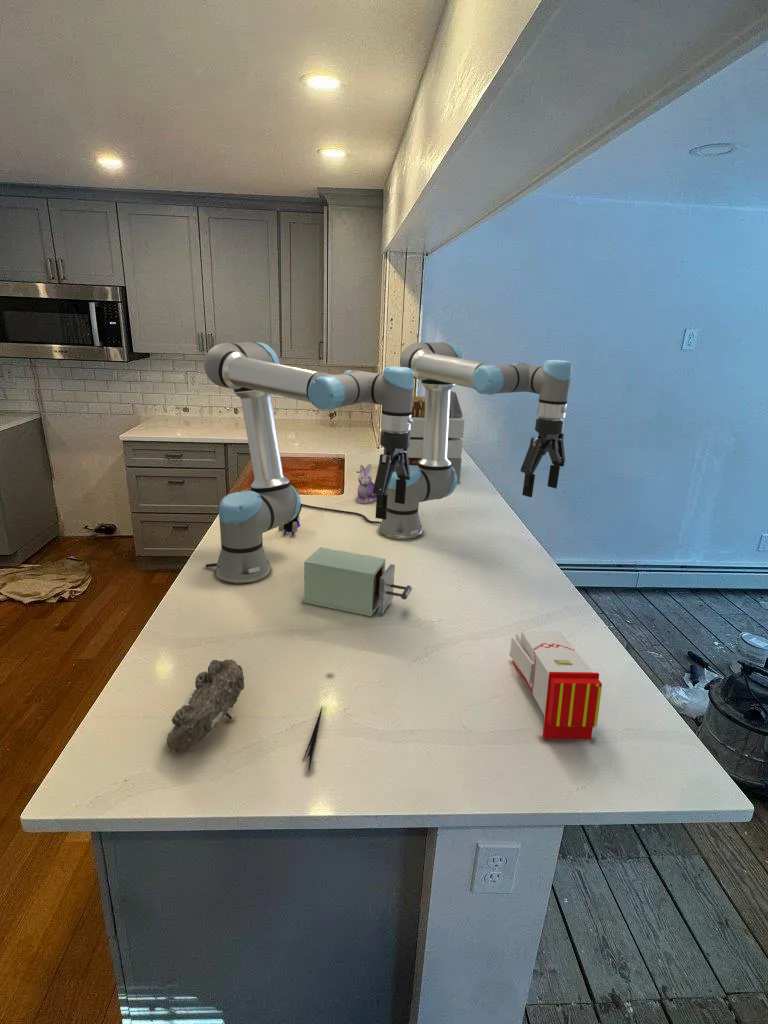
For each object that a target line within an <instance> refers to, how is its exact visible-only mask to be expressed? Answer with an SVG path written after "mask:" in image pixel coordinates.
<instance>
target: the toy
mask: <svg viewBox="0 0 768 1024" xmlns="http://www.w3.org/2000/svg"><path fill="white" fill-rule="evenodd" d="M515 634H516V635H515V637H514V636H512V637H511V639H510V640H511V641H510V649H509V656H510V658H511V661H512V663H513V665H514V666H515V668H516V670H517V671H518V673H519V675H520V676H521V678H522V679H523V681H524V682H525V684H526V686H527V687H528V689H529V690H530V693H532V695H533V697H534V699H535V701H536V703H537V705H538V707H539V708H540V710H541V712H542V714H543V715H544V718H543V727H542V739H543V740H584V741H585V740H588V741H589V740H592V738H593V729H594V728H597V727H598V720H599V713H600V706H601V696H602V689H603V683H602V682H601V680H600V673H599V672H593V671H592V669H591V668H590V667H589V666H588V665H587V663H586V662H585V661H584V659H583V658H582V657H581V656H580V655H579V653H578V652H577V651H576V650H575V648H574V647H573V645H572V644H571V643H570V642H569V641H568V640H567V639H566V637H565V636H564V635H563V634H562V632H561V631H526V630H525V631H524V630H523V631H522V630H521V631H520V632H516V633H515Z"/></svg>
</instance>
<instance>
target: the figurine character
mask: <svg viewBox="0 0 768 1024" xmlns="http://www.w3.org/2000/svg"><path fill="white" fill-rule="evenodd" d="M302 508H303V506H302V505H300V510H299V513H298V515H297V516H296V517H295V518H294V519H293V520H291V521H289V522H288V523H287V524H284V525H281V526H278V532H280V533H281V532H283V533H282V534H283V536H284V537H285V536H286V535H287V533H291V537H293V536H295V533H297V532H298V528H300V527H301V523H300V521H301V518H300V517H301V516H300V514H301V511H302Z"/></svg>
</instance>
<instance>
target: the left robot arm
mask: <svg viewBox="0 0 768 1024" xmlns="http://www.w3.org/2000/svg"><path fill="white" fill-rule="evenodd" d="M203 368H204V372H205V375H206V376H207V378H208V379H209V381H211V382H212V383H213V384H214V385H216V386H218V387H221V388H226V389H231V390H233V393H234V394H235V396H237V397H238V398H239V399H240V402H241V403H240V404H241V409H242V414H243V419H244V426H245V431H246V437H247V444H248V449H249V455H250V459H251V460H250V461H251V467H252V471H253V472H252V473H253V478H254V480H253V482H252V483H251V484H250V490H241V491H234V492H231V493H229V494H226V495H225V496H224V497H222V498H221V500H220V502H219V504H218V507H219V509H218V510H219V511H218V519H219V534H220V547H221V548H220V552H219V556H218V559H217V562H216V563H215V562H214V563H206V564H205V568H213V567H216V569H215V575H216V577H217V578H218V579H219V580H220V581H223V582H225V583H228V584H229V583H230V584H235V585H236V584H238V585H239V584H240V585H241V584H243V585H244V584H251V583H255V582H259V581H261V580H263V579H265V578H266V577H267V576H268V575H269V574H270V572H271V569H270V568H271V566H270V562H269V560H268V558H267V555H266V553H265V549H264V545H263V544H264V541H263V534H264V533H267V532H269V531H271V530H274V529H276V528H279V526H281V525H284V524H287V523H288V522H289V521H291V520H293V519H294V518H295V517H296V516H297V515H298V513H299V510H300V505H301V504H302V503H301V497H300V493H299V491H297V490H296V488H295V486H293V485H291V483H290V482H291V481H290V479H288V477H286V476H285V475H284V471H283V464H282V463H283V462H282V458H281V451H280V446H279V439H278V432H277V427H276V419H275V415H274V413H275V412H274V407H273V401H272V395H275V396H279V397H284V398H288V399H291V400H292V399H293V400H297V401H301V402H306V403H310V404H311V405H313V407H315V408H316V409H318V410H323V411H325V410H331V411H332V410H335V409H339V408H343V407H348V406H351V405H358V404H362V403H364V404H365V403H367V404H375V405H379V406H380V405H381V414H380V429H381V431H380V434H379V435H380V436H379V437H380V438H379V445H380V446H381V447H383V448H384V447H385V448H386V452H385V455H384V453H380V454H379V459H378V466H377V471H376V476H375V481H374V489H373V494H377V497H376V500H375V517H374V518H375V519H379V520H382V519H384V520H386V518H387V501H388V494H386V493H387V490H388V487H389V483H390V480H391V477H392V474H393V472H395V471H396V474H397V477H398V478H399V479H397V480H396V491H395V503H400V504H405V496H406V482H407V481H406V480H410V476H409V475H410V468H409V460H408V447H409V445H410V432H408V431H409V430H410V429H411V423H413V420H412V419H411V415H412V400H413V396H414V390H415V379H414V372H413V370H412V369H410V368H407V367H401V366H393V365H392V366H386V367H385V368H383V372H382V373H379V372H372V371H371V372H369V371H363V370H360V369H356V370H355V369H354V370H353V369H352V370H351V369H348V370H345V371H344V372H343V373H341V374H332V373H331V374H330V373H327V372H326V373H325V372H321V371H316V370H310V369H306V368H301V367H295V366H291V365H285V364H281V363H280V360H279V356H278V355H277V352H276V351H275V350H274V349H273V348H271V346H269V345H268V344H266V343H264V342H258V341H244V342H242V341H241V342H223V343H219V344H216V345H214V346H212V347H211V348H210V349H209V350H208V352H207V353H206V355H205V357H204V362H203Z"/></svg>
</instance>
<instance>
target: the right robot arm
mask: <svg viewBox="0 0 768 1024" xmlns="http://www.w3.org/2000/svg"><path fill="white" fill-rule="evenodd" d="M399 367H407V368H410V369H412V370H413V372H414V380H420V382H421V383H420V384H421V385H422V386H423V387H424V389H425V393H424V397H425V415H424V440H423V457H422V458H421V459H420V460H419V461H418V466H413V465H409V468H410V475H409V476H410V480H406V481H407V482H406V496H405V504H400V503H395V491H396V480H397V479H399V478H398V477H397V474H396V471H395V472H393V474H392V477H391V480H390V483H389V487H388V490H387V493H386V494H388V501H387V518H386V520H384V519H381V521H379V520H370V519H369V518H368V517H366V516H365V515H364V514H363V513H359V512H355V511H349V510H340V509H333V508H328V507H321V506H314V505H309V504H305V503H301V505H302V507H305V508H310V509H315V510H321V511H328V512H336V513H343V514H348V515H349V514H350V515H357V516H360V517H362V518H363V519H364V520H365V521H366V522H368V523H371V524H379V526H378V533H379V534H380V535H381V536H382V537H385V538H387V539H389V540H395V541H410V540H415V539H418V538H420V537H421V536H422V535H423V525H422V524H421V518H420V515H419V507H420V506H419V505H420V503H422V502H428V501H433V500H434V501H435V500H441V499H444V498H446V497H449V496H451V494H453V493H454V491H455V489H456V487H457V484H458V483H457V475H456V473H455V470H454V468H453V467H452V466H451V462H450V461H449V460H448V459H447V449H448V430H449V411H450V392H451V391H452V389H453V387H455V386H460V387H464V388H469V389H472V390H473V389H474V390H475V391H476V392H477V393H478V394H481V395H490V396H491V395H495V394H496V395H497V394H508V393H509V394H511V393H512V394H513V393H532V394H537V395H538V396H539V397H538V403H537V410H536V416H537V418H536V419H535V425H534V431H535V432H536V433H538V435H537V437H531V438H530V442H529V447H528V448H527V452H526V454H525V457H524V458H523V459H524V460H523V462H522V465H521V467H520V472H521V473H523V474H524V480H523V486H522V492H521V493H522V496H525V497H528V498H533V493H534V486H535V480H536V474H535V471H536V470H537V468H538V466H539V464H540V462H541V460H542V458H543V457H544V456H546V455H547V453H548V455H549V459H550V460H551V464H550V465H549V474H548V479H547V487H548V488H552V489H558V482H559V477H560V471H561V468H562V467H563V468H564V466H565V462H566V453H565V443H564V439H565V438H564V436H565V435H564V433H563V432H564V427H565V421H564V419H565V418H566V412H567V411H568V409H567V406H568V396H569V391H570V386H571V382H572V373H573V364H572V362H571V361H568V360H562V359H561V360H560V359H546V360H544V362H543V365H535V364H529V363H525V362H514V363H512V364H494V363H487V362H482V361H478V360H477V361H476V360H471V359H467V358H464V356H463V352H462V351H461V350H460V348H459V347H458V346H457V345H456V344H454V343H451V342H445V341H442V342H440V341H439V342H414V343H411V344H409V345H407V346H406V347H405V348H404V349H403V351H402V352H401V354H400V358H399Z"/></svg>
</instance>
